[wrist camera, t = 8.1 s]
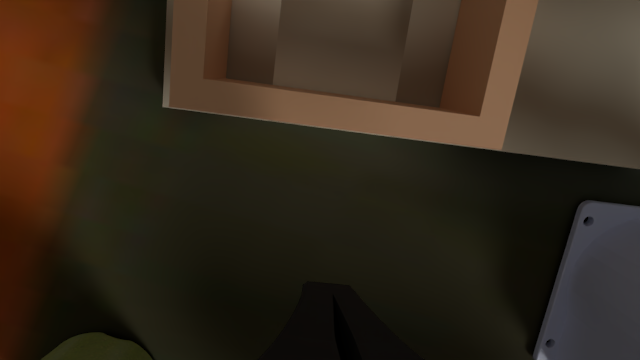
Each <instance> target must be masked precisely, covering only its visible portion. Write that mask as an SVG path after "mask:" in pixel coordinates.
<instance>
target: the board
mask: <svg viewBox="0 0 640 360" xmlns="http://www.w3.org/2000/svg"><path fill="white" fill-rule="evenodd" d="M460 4H461V0H232V7H231V20H230V33H229V46H228V58H227V71H226V78H227V79H234V80H241V81H249V82H256V83H263V84H270V85H278V86H285V87H292V88H299V89H307V90H314V91H321V92H328V93H336V94H343V95H350V96H358V97H365V98H372V99H379V100H387V101H394V102H401V103H408V104H416V105H423V106H430V107H437V108H439V107H440V102H441V97H442V92H443V87H444V82H445V78H446V73H447V68H448V63H449V58H450V53H451V48H452V43H453V38H454V34H455V29H456V24H457V19H458V14H459V9H460ZM173 5H174V0H167V14H166V38H165V62H164V86H163V107H166V108H174V109H182V110H189V111H197V112H205V113H212V114H220V115H228V116H235V117H243V118H251V117H244V116H236V115H229V114H221V113H213V112H206V111H198V110H190V109H183V108H175V107H169V94H170V72H171V49H172V27H173ZM251 119H258V120H266V121H274V120H267V119H259V118H251ZM274 122H281V123H289V124H297V123H290V122H282V121H274ZM297 125H304V126H312V127H320V126H313V125H305V124H297ZM320 128H327V129H335V130H343V129H336V128H328V127H320ZM343 131H350V132H358V131H351V130H343ZM358 133H366V132H358ZM366 134H373V135H381V134H374V133H366ZM381 136H388V137H396V138H404V137H397V136H389V135H381ZM404 139H411V140H419V141H427V140H420V139H412V138H404ZM427 142H434V143H442V144H450V143H443V142H435V141H427ZM450 145H457V146H465V147H473V146H466V145H458V144H450ZM473 148H480V149H488V148H481V147H473ZM488 150H496V149H488ZM496 151H503V152H511V153H519V154H526V155H534V156H542V157H549V158H557V159H565V160H572V161H580V162H588V163H595V164H603V165H611V166H618V167H626V168H634V169H640V0H539V1H538V5H537V9H536V13H535V17H534V21H533V25H532V29H531V33H530V37H529V41H528V45H527V49H526V53H525V57H524V62H523V66H522V70H521V74H520V78H519V82H518V86H517V90H516V94H515V98H514V102H513V106H512V110H511V114H510V118H509V122H508V126H507V130H506V134H505V138H504V142H503V146H502V150H496Z"/></svg>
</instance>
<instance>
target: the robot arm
mask: <svg viewBox="0 0 640 360" xmlns="http://www.w3.org/2000/svg"><path fill="white" fill-rule="evenodd" d="M586 217H588V220H587V222H586V223H583V222H584V219H585V218H586ZM549 339H551V340H550V341H549V342H548V343H546V342H547V341H548V340H549ZM533 359H534V360H640V206H633V205H625V204H617V203H608V202H600V201H592V200H586V201H584V202H582V203H581V204H580V205H579V206H578V208H577V211H576V215H575V218H574V221H573V225H572V228H571V231H570V234H569V238H568V241H567V244H566V248H565V251H564V254H563V258H562V261H561V264H560V267H559V271H558V274H557V277H556V281H555V284H554V287H553V290H552V294H551V297H550V300H549V304H548V307H547V310H546V314H545V317H544V320H543V323H542V327H541V330H540V333H539V337H538V340H537V343H536V346H535V350H534V353H533ZM258 360H424V359H423V358H422V357H420V356H419V355H418V354H417V353H415V352H414V351H413V350H412V349H410V348H409V347H408V346H407V345H406V344H405V343H403V342H402V341H401V340H400V339H399V338H398V337H397V336H396V335H395V334H394V333H393V332H392V331H391V330H390V329H389V328H388V327H387V326H386V325H385V324H384V323H383V322H382V321H381V320H380V319H379V318H378V317H377V316H376V315H375V314H374V313H373V312H372V311H371V309H370V308H369V307H368V306H367V305H366V304H365V303H364V302H363V300H362V299H361V298H360V297H359V296H358V295H357V293H356V292H355V291H354V290H353V289H352V288H351V287H350V286H349V285H340V284H330V283H320V282H309V281H307V282H306V283H305V284H303V289H302V295H301V298H300V301H299V303H298V305H297V307H296V309H295V311H294V313H293V315H292V316H291V318H290V320H289V321H288V323H287V324H286V326H285V327H284V329H283V330H282V332H281V333H280V334H279V336H278V337H277V338H276V340H275V341H274V342H273V343H272V345H271V346H270V347H269V348H268V349H267V350H266V351H265V353H264V354H263V355H262V356H261V357H260V358H259V359H258Z"/></svg>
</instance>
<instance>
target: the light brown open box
mask: <svg viewBox="0 0 640 360" xmlns="http://www.w3.org/2000/svg"><path fill="white" fill-rule="evenodd" d="M538 1H539V0H461V4H460V9H459V14H458V19H457V24H456V29H455V34H454V38H453V43H452V48H451V53H450V58H449V63H448V68H447V73H446V78H445V82H444V87H443V92H442V97H441V102H440V107H439V108H437V107H430V106H423V105H416V104H408V103H401V102H394V101H387V100H379V99H372V98H365V97H358V96H350V95H343V94H336V93H328V92H321V91H314V90H307V89H299V88H292V87H285V86H278V85H270V84H263V83H256V82H249V81H241V80H234V79H227V78H226V71H227V58H228V46H229V33H230V20H231V7H232V0H174V5H173V27H172V49H171V72H170V94H169V107H175V108H183V109H190V110H198V111H206V112H213V113H221V114H229V115H236V116H244V117H251V118H259V119H267V120H274V121H282V122H290V123H297V124H305V125H313V126H320V127H328V128H336V129H343V130H351V131H358V132H366V133H374V134H381V135H389V136H397V137H404V138H412V139H420V140H427V141H435V142H443V143H450V144H458V145H466V146H473V147H481V148H488V149H496V150H502V146H503V142H504V138H505V134H506V130H507V126H508V122H509V118H510V114H511V110H512V106H513V102H514V98H515V94H516V90H517V86H518V82H519V78H520V74H521V70H522V66H523V62H524V57H525V53H526V49H527V45H528V41H529V37H530V33H531V29H532V25H533V21H534V17H535V13H536V9H537V5H538Z"/></svg>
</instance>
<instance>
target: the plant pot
mask: <svg viewBox="0 0 640 360" xmlns="http://www.w3.org/2000/svg"><path fill="white" fill-rule="evenodd" d="M41 360H153V359H152V358H151V357H150V355H149V354H148V353H147V352H146V351H145V350H144V349H143V348H141V347H140V346H139V345H137V344H136V343H134V342H132V341H129V340H122V339H117V338H114V337H111V336H108V335H106V334H104V333H101V332H92V333H85V334H80V335H77V336H74V337H71V338H69V339H68V340H66V341H64V342H63V343H61V344H60V345H59V346H57V347H56V348H55V349H54V350H52V351H51V352H50V353H48V354H47V355H46V356H45V357H43V358H42V359H41Z"/></svg>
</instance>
